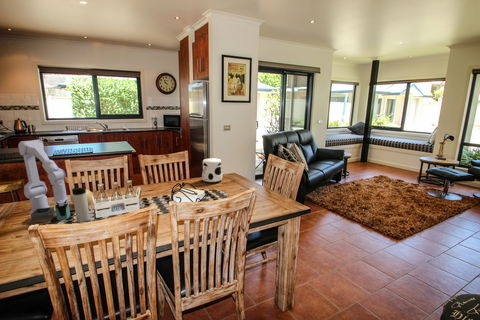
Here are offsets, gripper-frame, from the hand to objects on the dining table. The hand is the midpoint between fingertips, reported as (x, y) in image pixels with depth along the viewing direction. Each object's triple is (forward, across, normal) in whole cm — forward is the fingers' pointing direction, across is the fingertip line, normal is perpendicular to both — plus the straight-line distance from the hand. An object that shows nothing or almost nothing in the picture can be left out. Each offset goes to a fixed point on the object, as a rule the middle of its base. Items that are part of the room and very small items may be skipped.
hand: (63, 213), depth 146 cm
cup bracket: (+1, -6, -9) cm, 11 cm away
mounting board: (+3, -6, -10) cm, 12 cm away
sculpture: (+3, -16, +11) cm, 20 cm away
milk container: (+3, -12, +105) cm, 106 cm away
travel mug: (+3, +11, +9) cm, 15 cm away
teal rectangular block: (+2, 0, 0) cm, 2 cm away
